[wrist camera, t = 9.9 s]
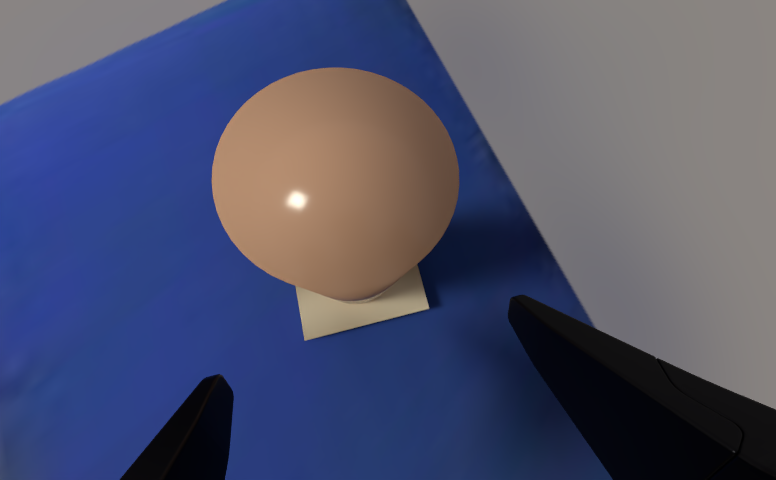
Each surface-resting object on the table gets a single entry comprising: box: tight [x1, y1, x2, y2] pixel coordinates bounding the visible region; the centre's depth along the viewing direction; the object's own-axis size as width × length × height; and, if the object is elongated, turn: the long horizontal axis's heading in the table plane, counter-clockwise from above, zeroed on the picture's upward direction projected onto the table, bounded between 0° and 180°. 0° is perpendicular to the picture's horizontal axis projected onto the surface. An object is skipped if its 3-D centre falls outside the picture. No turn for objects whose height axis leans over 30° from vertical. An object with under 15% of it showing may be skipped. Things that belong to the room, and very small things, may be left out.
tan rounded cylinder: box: [212, 68, 459, 304], centre depth 12 cm, size 5×5×13 cm
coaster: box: [296, 264, 429, 340], centre depth 19 cm, size 8×8×1 cm
